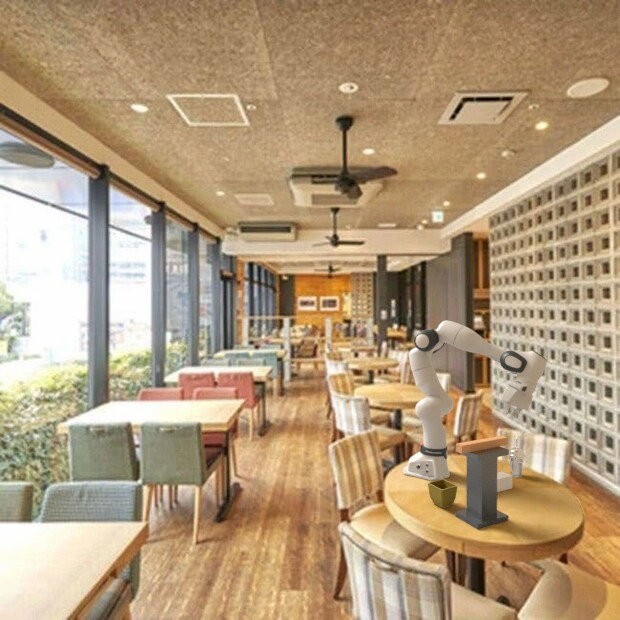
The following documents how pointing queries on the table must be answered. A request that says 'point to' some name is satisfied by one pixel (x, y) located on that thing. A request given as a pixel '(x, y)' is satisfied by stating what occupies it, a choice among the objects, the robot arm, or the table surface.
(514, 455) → the cup with straw
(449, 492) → the flower pot
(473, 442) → the orange-brown square bar
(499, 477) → the milk
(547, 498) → the table surface
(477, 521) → the pedestal
